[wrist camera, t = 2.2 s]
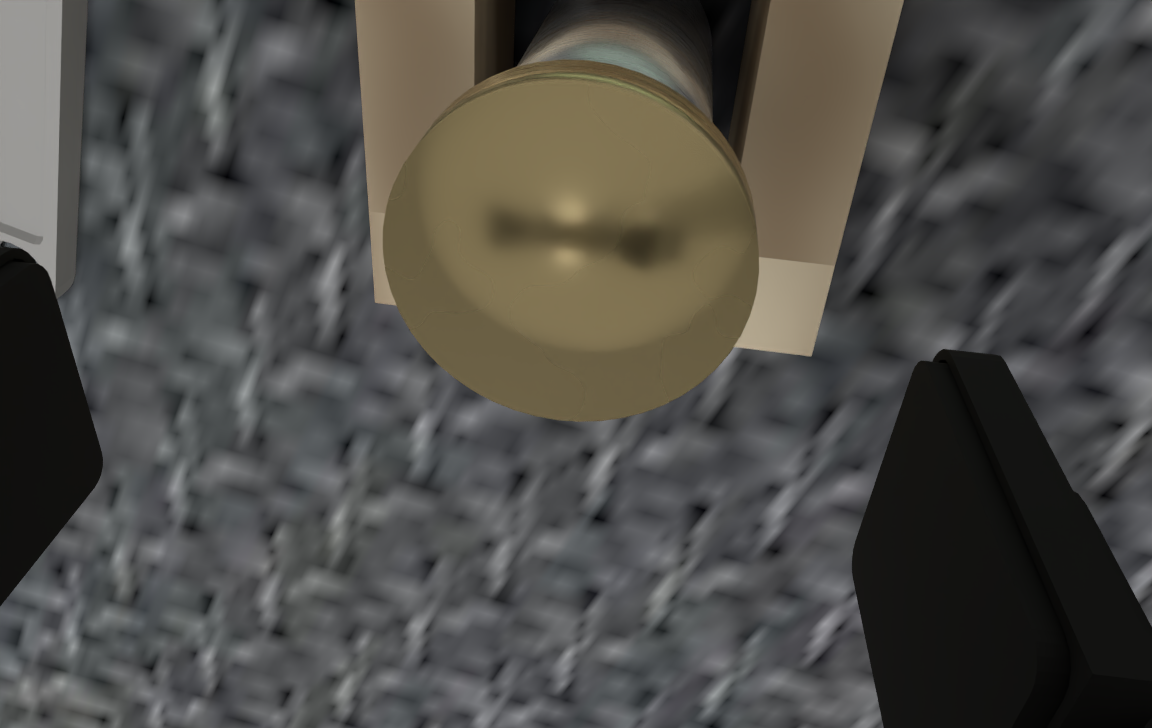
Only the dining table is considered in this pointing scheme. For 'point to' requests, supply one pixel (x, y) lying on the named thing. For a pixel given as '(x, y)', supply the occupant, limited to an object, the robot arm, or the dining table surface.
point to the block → (757, 135)
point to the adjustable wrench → (42, 130)
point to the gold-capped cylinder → (580, 220)
